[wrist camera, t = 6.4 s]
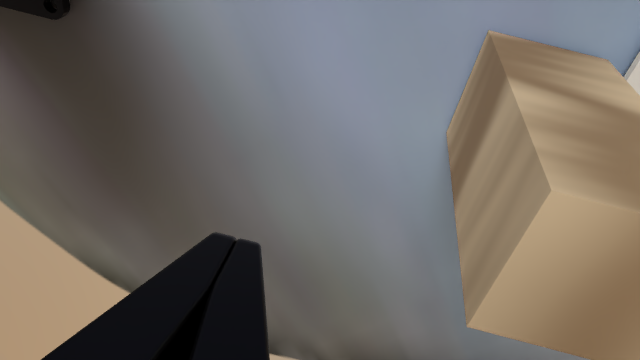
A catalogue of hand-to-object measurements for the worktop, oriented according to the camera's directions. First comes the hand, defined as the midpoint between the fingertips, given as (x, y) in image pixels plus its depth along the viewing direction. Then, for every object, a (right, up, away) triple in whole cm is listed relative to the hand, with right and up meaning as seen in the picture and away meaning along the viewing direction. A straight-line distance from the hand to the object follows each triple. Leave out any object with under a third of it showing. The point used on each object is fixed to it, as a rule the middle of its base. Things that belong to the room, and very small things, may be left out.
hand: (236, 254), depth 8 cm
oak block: (+9, +4, +8) cm, 13 cm away
